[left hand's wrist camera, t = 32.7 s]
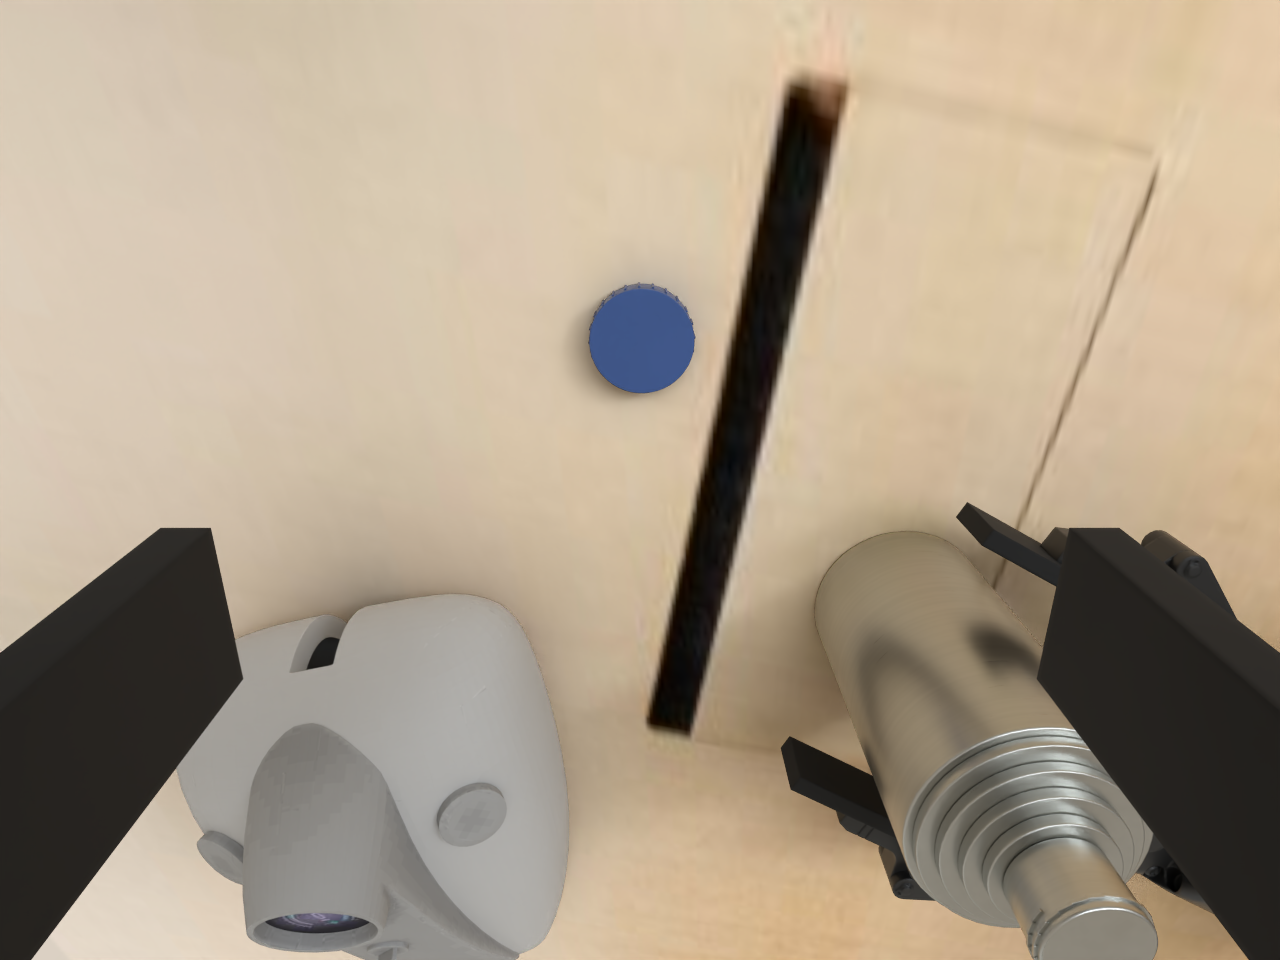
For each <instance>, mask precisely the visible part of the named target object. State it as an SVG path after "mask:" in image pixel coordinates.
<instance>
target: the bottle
mask: <svg viewBox="0 0 1280 960" xmlns="http://www.w3.org/2000/svg"><path fill="white" fill-rule="evenodd" d="M815 622H816V627H817V630H818V633H819V636H820V639H821V641H822V644H823V647H824V649H825V652H826V654H827V657H828V660H829V662H830V665H831V668H832V670H833V673H834V675H835V678H836V681H837V683H838V686H839V689H840V691H841V694H842V696H843V699H844V702H845V704H846V707H847V710H848V712H849V715H850V717H851V720H852V723H853V725H854V728H855V731H856V733H857V736H858V738H859V741H860V744H861V746H862V749H863V752H864V754H865V757H866V759H867V762H868V765H869V767H870V770H871V772H872V775H873V778H874V780H875V783H876V786H877V788H878V791H879V793H880V796H881V799H882V801H883V804H884V807H885V809H886V812H887V814H888V817H889V820H890V822H891V825H892V828H893V830H894V833H895V835H896V838H897V841H898V843H899V846H900V849H901V851H902V854H903V856H904V859H905V862H906V864H907V867H908V869H909V871H910V873H911V874H912V876H913V878H914V879H915V881H916V882H917V883H918V885H919V886H920V887H921V888H922V889H923V890H924V891H925V892H926V893H927V894H928V895H929V896H930V897H931V898H933V899H934V900H936V901H937V902H939V903H940V904H941V905H943V906H945V907H946V908H948V909H949V910H951V911H952V912H954V913H956V914H958V915H960V916H962V917H964V918H966V919H969V920H972V921H974V922H977V923H982V924H986V925H990V926H997V927H1009V928H1021V929H1022V931H1023V933H1024V935H1025V937H1026V944H1027V947H1028V949H1029V952H1030V955H1031V957H1032V958H1033V959H1034V960H1153V958H1154V956H1155V954H1156V951H1157V947H1158V937H1157V932H1156V929H1155V926H1154V923H1153V920H1152V916H1151V915H1150V913H1149V912H1148V911H1147V910H1146V908H1145V907H1144V906H1143V905H1142V904H1140V903H1139V902H1137V900H1136V899H1135V897H1134V896H1133V894H1132V893H1131V891H1130V890H1129V888H1128V887H1127V885H1126V883H1127V882H1128V881H1129V880H1130V879H1131V877H1132V876H1133V875H1134V874H1135V873H1136V871H1137V870H1138V868H1139V867H1140V866H1141V864H1142V863H1143V861H1144V859H1145V857H1146V855H1147V853H1148V851H1149V848H1150V845H1151V842H1152V839H1153V832H1152V831H1151V830H1150V828H1149V827H1148V826H1147V824H1146V823H1145V822H1144V820H1143V819H1142V818H1141V816H1140V815H1139V814H1138V813H1137V811H1136V810H1135V809H1134V807H1133V806H1132V805H1131V803H1130V802H1129V801H1128V799H1127V798H1126V797H1125V795H1124V794H1123V793H1122V791H1121V790H1120V789H1119V787H1118V786H1117V785H1116V783H1115V782H1114V781H1113V779H1112V778H1111V777H1110V775H1109V774H1108V773H1107V772H1106V770H1105V769H1104V768H1103V766H1102V765H1101V764H1100V762H1099V761H1098V760H1097V758H1096V757H1095V756H1094V754H1093V753H1092V752H1091V750H1090V749H1089V748H1088V746H1087V745H1086V744H1085V742H1084V741H1083V740H1082V738H1081V737H1080V736H1079V734H1078V733H1077V732H1076V731H1075V729H1074V728H1073V727H1072V725H1071V724H1070V723H1069V721H1068V720H1067V719H1066V717H1065V716H1064V715H1063V713H1062V712H1061V711H1060V709H1059V708H1058V707H1057V705H1056V704H1055V703H1054V701H1053V700H1052V699H1051V697H1050V696H1049V695H1048V693H1047V692H1046V691H1045V690H1044V688H1043V687H1042V686H1041V684H1040V683H1039V682H1038V680H1037V675H1038V670H1039V665H1040V661H1041V656H1042V651H1043V648H1042V647H1041V646H1040V644H1039V643H1038V642H1037V641H1036V640H1035V638H1034V637H1033V636H1032V635H1031V634H1030V632H1029V631H1028V630H1027V629H1026V628H1025V627H1024V625H1023V624H1022V623H1021V622H1020V621H1019V619H1018V618H1017V617H1016V616H1015V615H1014V613H1013V612H1012V611H1011V610H1010V609H1009V607H1008V606H1007V605H1006V604H1005V603H1004V601H1003V600H1002V599H1001V598H1000V597H999V596H998V594H997V593H996V592H995V591H994V590H993V588H992V587H991V586H990V585H989V584H988V582H987V581H986V580H985V579H984V578H983V576H982V575H981V574H980V573H979V572H978V570H977V569H976V568H975V567H974V566H973V565H972V563H971V562H970V561H969V560H968V559H967V557H966V556H965V555H964V554H963V553H962V552H961V551H960V550H959V549H957V548H956V547H955V546H954V545H952V544H950V543H949V542H947V541H946V540H943V539H941V538H939V537H937V536H933V535H930V534H926V533H920V532H909V531H902V532H892V533H887V534H882V535H879V536H875V537H872V538H870V539H868V540H865V541H863V542H861V543H859V544H858V545H856V546H854V547H853V548H851V549H850V550H848V551H847V552H846V553H844V554H843V555H842V556H841V557H840V558H839V559H838V560H837V561H836V562H835V563H834V564H833V565H832V567H831V568H830V569H829V570H828V572H827V574H826V575H825V577H824V578H823V580H822V582H821V585H820V587H819V589H818V593H817V596H816V601H815Z"/></svg>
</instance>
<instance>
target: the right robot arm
mask: <svg viewBox="0 0 1280 960" xmlns="http://www.w3.org/2000/svg"><path fill="white" fill-rule="evenodd" d="M956 518H957V519H958V520H959V521H960V522H961V523H962V524H963V525H964V526H965V527H966V529H967V530H968V531H969V532H970V533H971V534H972V535H973V536H974V537H975V538H976V540H977V541H978V542H979V543H980V544H981V545H982V546H984V547H986V548H987V549H989V550H991V551H993V552H995V553H996V554H998V555H1000V556H1002V557H1004V558H1006V559H1007V560H1009V561H1011V562H1013V563H1015V564H1016V565H1018V566H1020V567H1022V568H1024V569H1025V570H1027V571H1029V572H1031V573H1033V574H1035V575H1036V576H1038V577H1040V578H1042V579H1044V580H1045V581H1047V582H1049V583H1051V584H1053V585H1055V586H1056V587H1057V582H1058V578H1059V573H1060V568H1061V564H1062V559H1063V555H1064V550H1065V545H1066V541H1067V536H1068V532H1069V529H1066V528H1058V527H1055V528H1054V529H1053V530H1052V532H1051V533H1050V534H1049V535H1048V537H1047V538H1046V539H1045V540H1044V542H1043V543H1042V544H1041V543H1039V542H1037V541H1035V540H1034V539H1032V538H1030V537H1028V536H1026V535H1025V534H1023V533H1021V532H1019V531H1018V530H1016V529H1014V528H1012V527H1010V526H1009V525H1007V524H1005V523H1003V522H1001V521H1000V520H998V519H996V518H994V517H993V516H991V515H989V514H987V513H985V512H984V511H982V510H980V509H978V508H977V507H975V506H973V505H971V504H969V503H968V502H967V503H966V505H965V506H964V507H963V509H962V510H961V511H960V513H959V514H958V515H957V516H956ZM1141 545H1142V546H1143V547H1144V548H1146V549H1147V550H1148V551H1150V552H1151V553H1152V554H1153V555H1155V556H1156V557H1157V558H1159V559H1160V560H1161V561H1162V562H1164V563H1165V564H1166V565H1167V566H1169V567H1170V568H1171V569H1173V570H1174V571H1175V572H1176V573H1178V574H1179V575H1180V576H1182V577H1183V578H1184V579H1185V580H1187V581H1188V582H1189V583H1191V584H1192V585H1193V586H1194V587H1196V588H1197V589H1198V590H1200V591H1201V592H1202V593H1203V594H1205V595H1206V596H1207V597H1209V598H1210V599H1211V600H1212V601H1214V602H1215V603H1216V604H1218V605H1219V606H1220V607H1221V608H1223V609H1224V610H1225V611H1227V612H1228V613H1229V614H1230V615H1232V616H1233V617H1234V618H1236V617H1235V615H1234V613H1233V611H1232V609H1231V607H1230V605H1229V603H1228V601H1227V599H1226V597H1225V595H1224V593H1223V591H1222V589H1221V587H1220V586H1219V584H1218V582H1217V580H1216V578H1215V576H1214V574H1213V572H1212V570H1211V568H1210V566H1209V564H1208V562H1207V561H1206V560H1205V559H1204V558H1203V557H1201V556H1200V555H1199V554H1197V553H1196V552H1194V551H1193V550H1191V549H1190V548H1188V547H1187V546H1186V545H1184V544H1183V543H1181V542H1180V541H1178V540H1177V539H1175V538H1174V537H1172V536H1171V535H1170V534H1168V533H1167V532H1164V531H1162V530H1156V531H1153V532H1150V533H1149V534H1148V535H1146V536H1145V537H1144V539H1143V540H1142V543H1141ZM1236 619H1237V618H1236ZM781 751H782V755H783V759H784V763H785V767H786V772H787V776H788V780H789V784H790V788H791V790H793V791H795V792H797V793H799V794H801V795H804V796H806V797H808V798H810V799H812V800H814V801H817V802H819V803H821V804H823V805H825V806H827V807H830V808H832V809H834V810H836V812H837V815H838V819H839V822H840V824H841V825H842V826H843V827H844V828H845V829H846V830H847V831H849V832H851V833H853V834H856V835H858V836H860V837H862V838H865V839H866V840H869V841H871V842H873V843H875V844H877V845H879V853H880V856H881V859H882V862H883V865H884V868H885V871H886V874H887V876H888V879H889V882H890V885H891V888H892V891H893V893H894V895H895V896H896V897H898V898H901V899H913V900H933V901H936V900H934V899H933V898H931V897H930V896H929V895H928V894H927V893H926V892H925V891H924V890H923V889H922V888H921V887H920V886H919V885H918V883H917V882H916V881H915V879H914V878H913V876H912V874H911V873H910V871H909V869H908V867H907V864H906V862H905V859H904V856H903V854H902V851H901V849H900V846H899V843H898V841H897V838H896V835H895V833H894V830H893V828H892V825H891V822H890V820H889V817H888V814H887V812H886V809H885V807H884V804H883V801H882V799H881V796H880V793H879V791H878V788H877V786H876V783H875V780H874V778H873V776H872V775H870V774H868V773H866V772H863V771H861V770H859V769H857V768H855V767H853V766H851V765H849V764H847V763H845V762H842V761H840V760H838V759H836V758H834V757H832V756H830V755H828V754H826V753H824V752H822V751H819V750H817V749H815V748H813V747H811V746H809V745H807V744H805V743H803V742H801V741H798V740H796V739H794V738H792V737H790V736H789V738H788V739H787V740H786V742H785V743H784V744H783V746H782V747H781ZM1136 873H1138V874H1141V875H1143V876H1144V877H1146V878H1148V879H1149V880H1151V881H1152V882H1154V883H1155V884H1157V885H1158V886H1160V887H1162V888H1163V889H1165V890H1167V891H1168V892H1170V893H1172V894H1174V895H1176V896H1178V897H1180V898H1182V899H1184V900H1186V901H1188V902H1190V903H1192V904H1194V905H1197V906H1199V907H1201V908H1203V909H1205V910H1207V911H1209V912H1211V913H1213V912H1212V910H1211V909H1210V908H1209V906H1208V905H1207V904H1206V902H1205V901H1204V900H1203V898H1202V897H1201V896H1200V895H1199V893H1198V892H1197V891H1196V889H1195V888H1194V887H1193V885H1192V884H1191V883H1190V881H1189V880H1188V879H1187V877H1186V876H1185V875H1184V873H1183V872H1182V871H1181V869H1180V868H1179V867H1178V865H1177V864H1176V863H1175V861H1174V860H1173V859H1172V857H1171V856H1170V855H1169V854H1168V852H1167V851H1166V850H1165V848H1164V847H1163V846H1162V844H1161V843H1160V842H1159V840H1158V839H1157V838H1156V836H1155V835H1154V834H1153V839H1152V842H1151V845H1150V848H1149V851H1148V853H1147V855H1146V857H1145V859H1144V861H1143V863H1142V864H1141V866H1140V867H1139V868H1138V870H1137V871H1136ZM1213 914H1214V913H1213Z"/></svg>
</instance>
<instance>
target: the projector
mask: <svg viewBox="0 0 1280 960" xmlns="http://www.w3.org/2000/svg"><path fill="white" fill-rule="evenodd" d="M235 642H236V647H237V651H238V656H239V661H240V665H241V670H242V675H243V680H242V682H241V683H240V684H239V686H238V687H237V688H236V690H235V691H234V692H233V693H232V695H231V696H230V697H229V699H228V700H227V701H226V703H225V704H224V705H223V707H222V708H221V709H220V711H219V712H218V713H217V715H216V716H215V717H214V719H213V720H212V721H211V723H210V724H209V725H208V727H207V728H206V729H205V731H204V732H203V733H202V734H201V736H200V737H199V738H198V740H197V741H196V742H195V744H194V745H193V746H192V748H191V749H190V750H189V752H188V753H187V754H186V756H185V757H184V758H183V760H182V761H181V762H180V764H179V765H178V766H177V768H176V769H177V773H178V777H179V781H180V785H181V789H182V791H183V794H184V796H185V799H186V801H187V803H188V805H189V808H190V810H191V812H192V815H193V817H194V818H195V820H196V822H197V823H198V825H199V827H200V828H201V830H202V831H203V833H204V835H203V836H202V837H201V839H200V840H199V841H198V842H197V847H198V850H199V852H200V854H201V855H202V857H203V858H204V859H205V860H206V861H207V863H208V864H209V865H210V866H212V867H213V868H214V869H215V870H216V871H217V872H219V873H220V874H221V875H223V876H224V877H226V878H227V879H229V880H231V881H233V882H235V883H238V884H242V885H243V903H244V912H245V922H246V932H247V936H248V937H249V938H250V939H251V940H252V941H254V942H256V943H258V944H260V945H263V946H266V947H269V948H273V949H278V950H284V951H294V952H330V951H341V950H342V951H344V952H347V953H349V954H352V955H354V956H357V957H359V958H362V959H365V960H516V959H517V958H518V957H519V954H521V953H524V952H526V951H528V950H531V949H533V948H534V947H536V946H537V945H539V944H540V943H541V942H542V941H543V940H544V939H545V937H546V936H547V934H548V932H549V930H550V928H551V926H552V923H553V921H554V918H555V916H556V913H557V909H558V906H559V903H560V900H561V896H562V891H563V886H564V881H565V875H566V869H567V860H568V849H569V805H568V794H567V783H566V775H565V769H564V763H563V757H562V751H561V746H560V741H559V737H558V732H557V727H556V723H555V719H554V715H553V711H552V707H551V703H550V700H549V696H548V693H547V689H546V686H545V683H544V680H543V676H542V673H541V670H540V668H539V665H538V662H537V659H536V657H535V654H534V652H533V649H532V647H531V644H530V642H529V640H528V638H527V636H526V634H525V632H524V630H523V628H522V627H521V625H520V624H519V622H518V621H517V619H516V618H515V617H514V616H513V615H512V614H511V612H510V611H509V610H507V609H506V608H505V607H503V606H502V605H500V604H499V603H497V602H494V601H492V600H490V599H486V598H482V597H478V596H474V595H467V594H442V595H431V596H423V597H416V598H410V599H404V600H398V601H392V602H386V603H381V604H376V605H370V606H366V607H363V608H361V609H360V610H358V611H357V612H356V613H355V614H354V615H353V616H352V617H351V619H350V620H349V622H348V623H346V622H345V621H344V620H342V619H341V618H339V617H336V616H333V615H321V616H316V617H311V618H306V619H302V620H297V621H293V622H288V623H284V624H280V625H276V626H272V627H269V628H265V629H262V630H259V631H256V632H253V633H250V634H247V635H245V636H242V637H240V638H238V639H236V640H235Z"/></svg>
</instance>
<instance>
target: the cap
mask: <svg viewBox="0 0 1280 960" xmlns="http://www.w3.org/2000/svg"><path fill="white" fill-rule="evenodd" d="M687 312H688V311H687V308H686V306H685V307H684V306H683V304H682V303H681V302H680V301H679V299H678V297H677V296H676V297H675V296H674V295H673V294H672V293H670V292H668V291H667V289H666V288H665V289H663V288H661V287H658V286H654V284H652V285H649V284H640V283H638V284H635V285H630V286H627V285H625V286H624V287H623V288H621V289H619V290H617V291H615V292H614V291H613V292H612V294H611V295H610V296H608V297H607V298H606V299H605V300H603V301H602V303H601V305H600V307H599V309H598V310H597V311H595V313H594V316H593V317H594V320H593V323H592V324H591V326H590V329H589V330H590V337H589V345H590V352H591V357H592V359H593V361H594V363H595V365H596V367H597V369H598V370H599V372H600V373H601V374H602V375H603V376H604V377H605V378H606V379H607V380H608V381H609V382H610V383H612V384H613V385H615V386H616V387H618V388H620V389H623V390H626V391H629V392H634V393H649V392H654V391H658V390H661V389H663V388H665V387H667V386H669V385H671V384H672V383H673V382H675V381H676V380H677V379H678V378H679V377H680V376H681V375H682V374H683V373H684V371H685V370H686V368H687V367H688V365H689V363H690V360H691V358H692V355H693V352H694V339H695V334H694V331H693V327H692V325H693V322H692V319H690V318H689V315H688V313H687Z"/></svg>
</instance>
